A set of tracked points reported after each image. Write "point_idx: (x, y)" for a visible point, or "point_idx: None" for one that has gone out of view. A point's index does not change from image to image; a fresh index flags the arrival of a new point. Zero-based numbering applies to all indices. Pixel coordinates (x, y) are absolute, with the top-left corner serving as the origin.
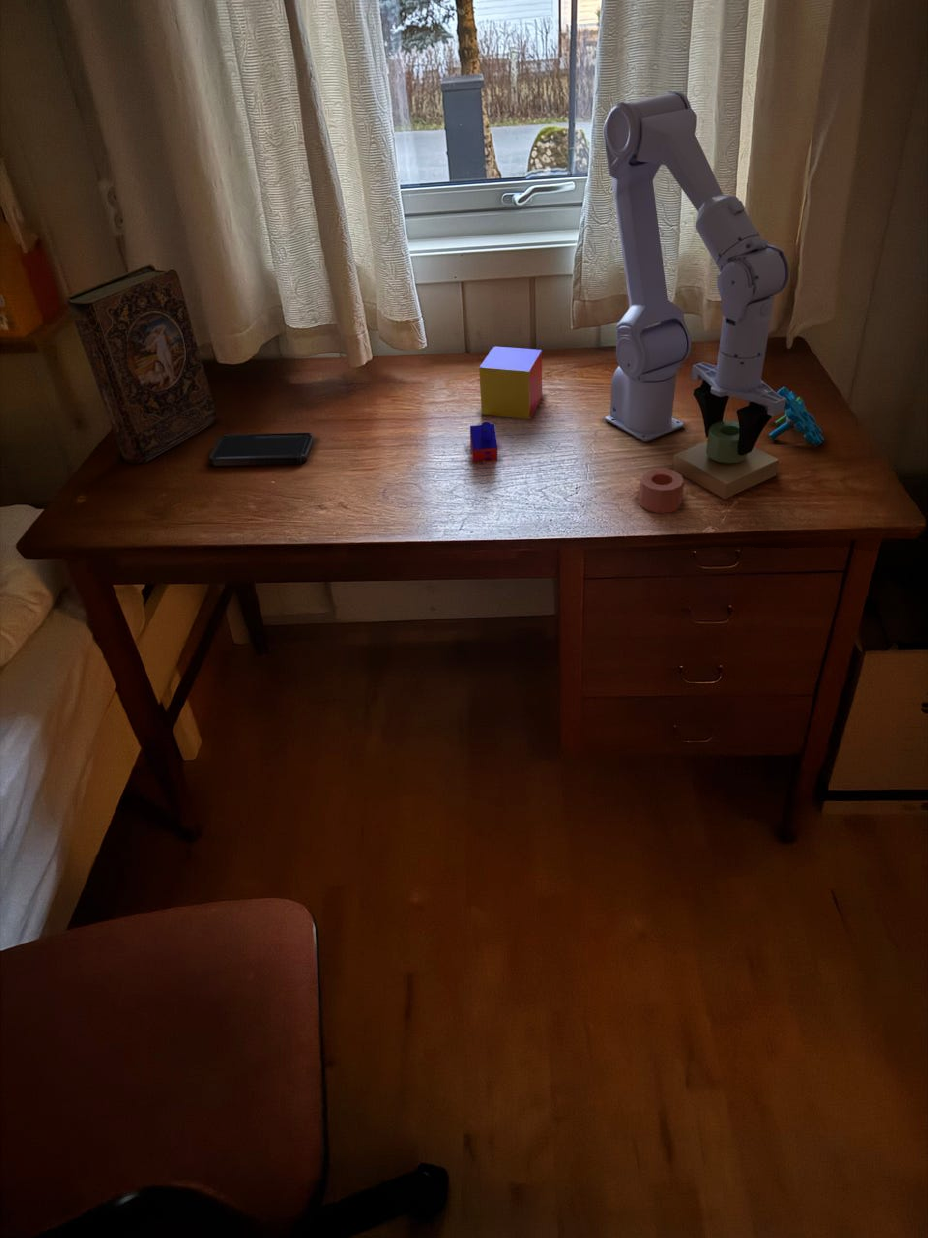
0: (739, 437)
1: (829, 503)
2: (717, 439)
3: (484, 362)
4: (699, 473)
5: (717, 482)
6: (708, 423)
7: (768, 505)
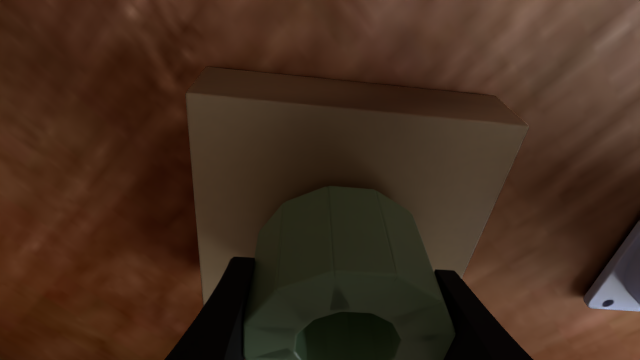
0: (226, 328)
1: (14, 264)
2: (348, 263)
3: None
4: (359, 99)
5: (246, 91)
6: (471, 331)
7: (87, 146)
